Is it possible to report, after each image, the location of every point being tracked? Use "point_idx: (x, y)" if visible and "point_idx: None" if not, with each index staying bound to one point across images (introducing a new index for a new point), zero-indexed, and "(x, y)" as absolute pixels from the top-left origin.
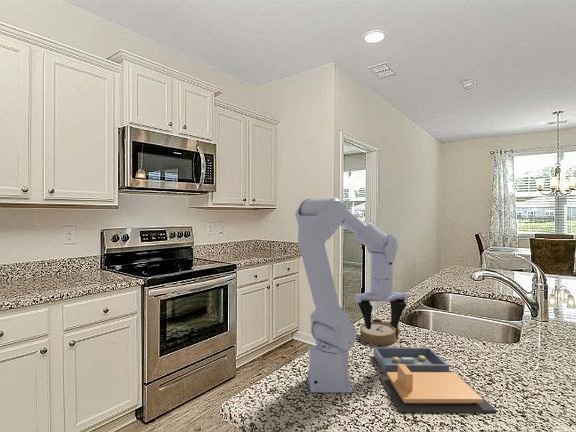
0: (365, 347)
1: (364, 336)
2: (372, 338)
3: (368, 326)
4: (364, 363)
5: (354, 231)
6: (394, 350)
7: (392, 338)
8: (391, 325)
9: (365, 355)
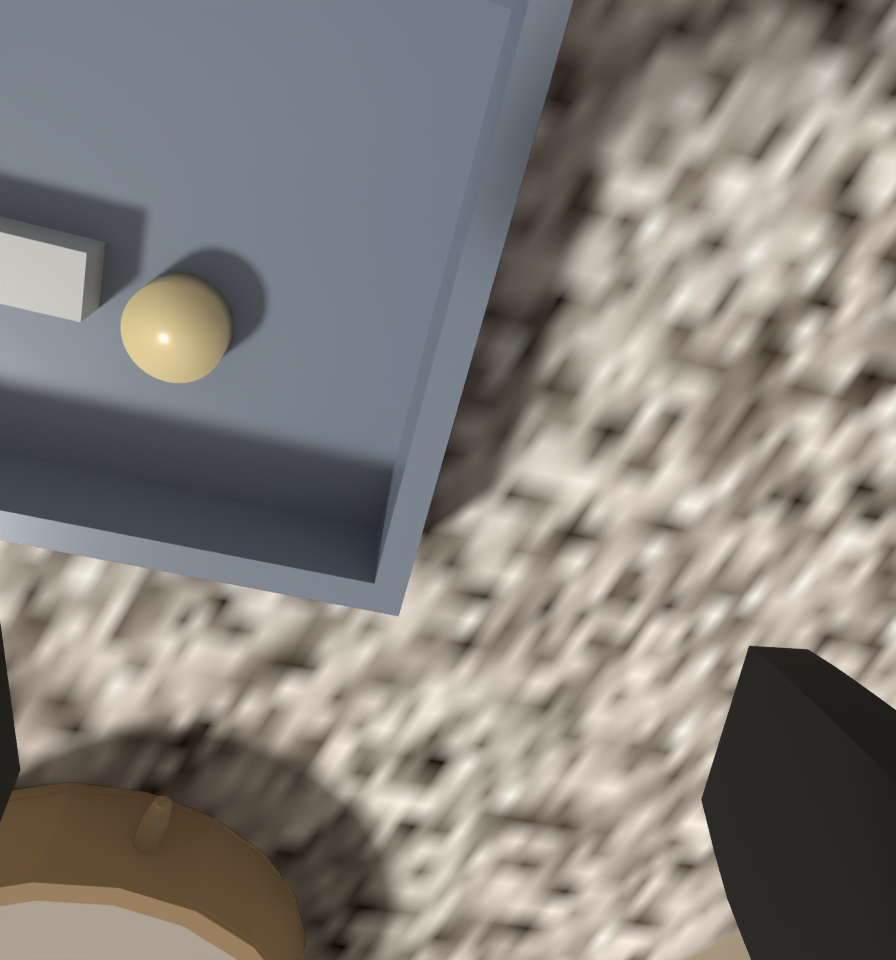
0: (371, 767)
1: (291, 951)
2: (225, 887)
3: (864, 692)
4: (629, 396)
5: None
6: (100, 511)
7: None
8: (19, 771)
9: (488, 589)
